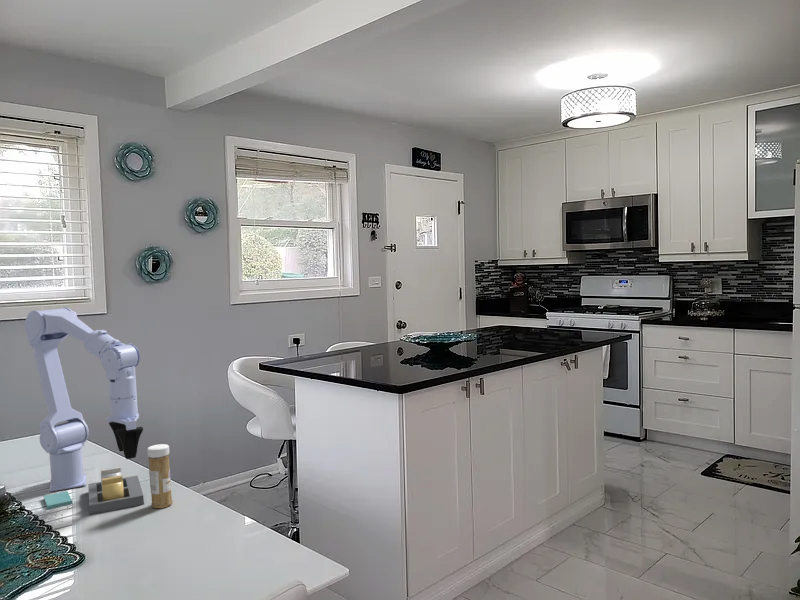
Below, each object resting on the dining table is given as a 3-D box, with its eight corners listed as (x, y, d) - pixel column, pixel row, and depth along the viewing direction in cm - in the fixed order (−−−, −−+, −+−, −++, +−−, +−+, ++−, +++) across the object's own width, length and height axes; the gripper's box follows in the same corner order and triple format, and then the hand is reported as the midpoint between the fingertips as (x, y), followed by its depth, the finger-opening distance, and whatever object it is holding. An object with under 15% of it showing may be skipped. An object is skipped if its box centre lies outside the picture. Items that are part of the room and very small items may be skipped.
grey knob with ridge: (101, 492, 153) (100, 467, 153) (121, 488, 155) (120, 464, 155) (102, 498, 149) (100, 473, 149) (123, 494, 151) (121, 469, 151)
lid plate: (43, 499, 150) (43, 496, 150) (67, 494, 153) (67, 490, 153) (47, 509, 143) (47, 506, 143) (72, 503, 146) (72, 500, 146)
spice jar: (174, 505, 142) (171, 446, 142) (153, 510, 140) (149, 450, 139) (169, 499, 146) (166, 442, 145) (148, 504, 144) (145, 446, 143)
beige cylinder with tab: (102, 502, 146) (101, 476, 146) (123, 498, 148) (121, 473, 148) (103, 508, 142) (101, 482, 142) (124, 504, 144) (123, 478, 144)
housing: (88, 492, 154) (88, 484, 153) (137, 483, 158) (137, 475, 158) (89, 514, 139) (89, 505, 139) (143, 504, 144) (143, 495, 144)
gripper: (99, 394, 152) (103, 450, 153) (110, 404, 140) (114, 465, 141) (131, 390, 156) (134, 444, 157) (144, 399, 144) (148, 458, 145)
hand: (127, 454), depth 149 cm, fingers open, 7 cm apart
